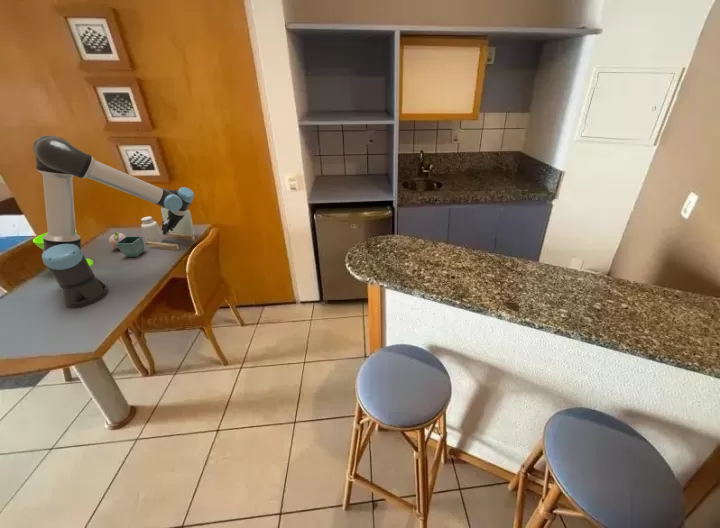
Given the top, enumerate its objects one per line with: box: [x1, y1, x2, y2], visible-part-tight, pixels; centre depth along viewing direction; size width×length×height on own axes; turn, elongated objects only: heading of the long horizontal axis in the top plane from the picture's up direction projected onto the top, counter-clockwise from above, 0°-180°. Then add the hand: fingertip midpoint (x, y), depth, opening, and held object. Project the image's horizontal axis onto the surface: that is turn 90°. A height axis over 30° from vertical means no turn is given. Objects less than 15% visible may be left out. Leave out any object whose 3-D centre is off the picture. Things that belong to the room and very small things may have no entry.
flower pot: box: [116, 235, 145, 258], centre depth 164 cm, size 9×9×9 cm
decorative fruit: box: [108, 231, 127, 249], centre depth 170 cm, size 9×8×10 cm
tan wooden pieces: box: [144, 206, 196, 252], centre depth 175 cm, size 20×20×18 cm
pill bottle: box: [140, 216, 165, 243], centre depth 175 cm, size 8×8×15 cm
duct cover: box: [160, 207, 195, 235], centre depth 179 cm, size 14×20×1 cm
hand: (164, 236), depth 178 cm, fingers closed
